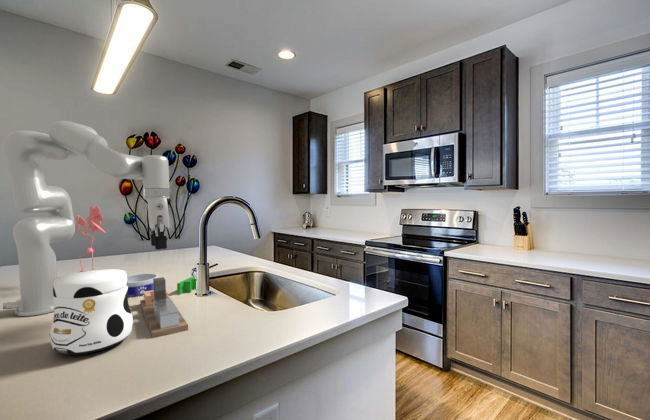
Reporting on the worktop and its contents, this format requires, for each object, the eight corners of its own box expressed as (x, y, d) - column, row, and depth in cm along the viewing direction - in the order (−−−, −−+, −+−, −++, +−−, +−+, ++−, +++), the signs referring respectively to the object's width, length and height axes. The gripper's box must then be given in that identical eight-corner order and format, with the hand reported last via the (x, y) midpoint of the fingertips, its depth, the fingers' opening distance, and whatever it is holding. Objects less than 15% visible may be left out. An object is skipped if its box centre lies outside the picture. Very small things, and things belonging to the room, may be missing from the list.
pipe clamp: (186, 295, 127) (186, 283, 127) (177, 295, 127) (177, 283, 127) (200, 287, 138) (200, 276, 138) (192, 286, 138) (192, 276, 138)
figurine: (92, 291, 133) (91, 205, 132) (65, 283, 147) (64, 205, 146) (131, 283, 146) (130, 205, 145) (103, 276, 160) (102, 205, 159)
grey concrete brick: (179, 325, 92) (179, 310, 92) (160, 329, 90) (160, 314, 90) (170, 310, 104) (170, 297, 104) (153, 314, 102) (153, 300, 102)
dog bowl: (127, 300, 121) (127, 284, 121) (107, 294, 129) (106, 279, 129) (166, 290, 134) (165, 275, 134) (145, 285, 142) (144, 271, 142)
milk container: (38, 368, 73) (34, 288, 72) (64, 337, 89) (61, 272, 88) (128, 352, 80) (125, 279, 79) (137, 326, 96) (135, 266, 95)
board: (188, 329, 93) (188, 324, 93) (152, 337, 88) (152, 332, 88) (168, 299, 121) (168, 295, 120) (140, 304, 115) (140, 300, 115)
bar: (174, 323, 93) (173, 290, 93) (163, 325, 92) (162, 292, 91) (163, 304, 110) (163, 276, 109) (153, 306, 108) (152, 278, 108)
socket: (168, 301, 114) (167, 292, 114) (146, 305, 110) (145, 296, 110) (164, 296, 120) (164, 288, 120) (143, 300, 116) (143, 291, 116)
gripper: (174, 193, 100) (176, 249, 101) (165, 194, 114) (167, 243, 115) (146, 193, 96) (148, 251, 96) (140, 194, 110) (142, 245, 111)
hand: (158, 247), depth 106 cm, fingers open, 9 cm apart
